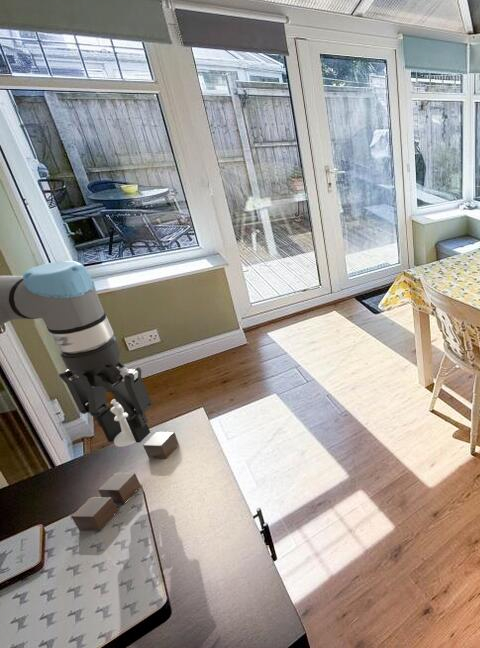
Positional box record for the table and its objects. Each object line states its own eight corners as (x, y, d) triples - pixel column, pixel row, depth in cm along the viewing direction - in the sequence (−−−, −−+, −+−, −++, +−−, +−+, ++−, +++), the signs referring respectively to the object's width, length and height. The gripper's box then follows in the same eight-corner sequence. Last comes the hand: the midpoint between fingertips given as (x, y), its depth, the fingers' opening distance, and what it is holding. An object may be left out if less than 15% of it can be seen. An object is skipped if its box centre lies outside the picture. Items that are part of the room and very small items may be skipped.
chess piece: (134, 426, 88) (118, 389, 84) (151, 431, 87) (135, 394, 83) (108, 443, 84) (90, 405, 80) (125, 449, 83) (108, 411, 79)
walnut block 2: (105, 503, 83) (97, 489, 81) (122, 485, 86) (115, 472, 85) (125, 504, 83) (118, 490, 81) (141, 486, 86) (135, 472, 85)
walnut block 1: (79, 530, 78) (70, 516, 76) (98, 510, 81) (90, 496, 80) (100, 531, 78) (92, 516, 76) (118, 511, 81) (111, 497, 80)
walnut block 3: (148, 458, 93) (142, 445, 91) (162, 444, 96) (156, 431, 95) (166, 458, 93) (161, 445, 91) (179, 444, 96) (174, 431, 95)
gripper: (16, 353, 72) (68, 450, 82) (119, 356, 73) (159, 452, 82) (58, 330, 79) (102, 422, 89) (152, 333, 80) (186, 424, 89)
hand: (129, 436), depth 85 cm, fingers closed on chess piece, 5 cm apart
